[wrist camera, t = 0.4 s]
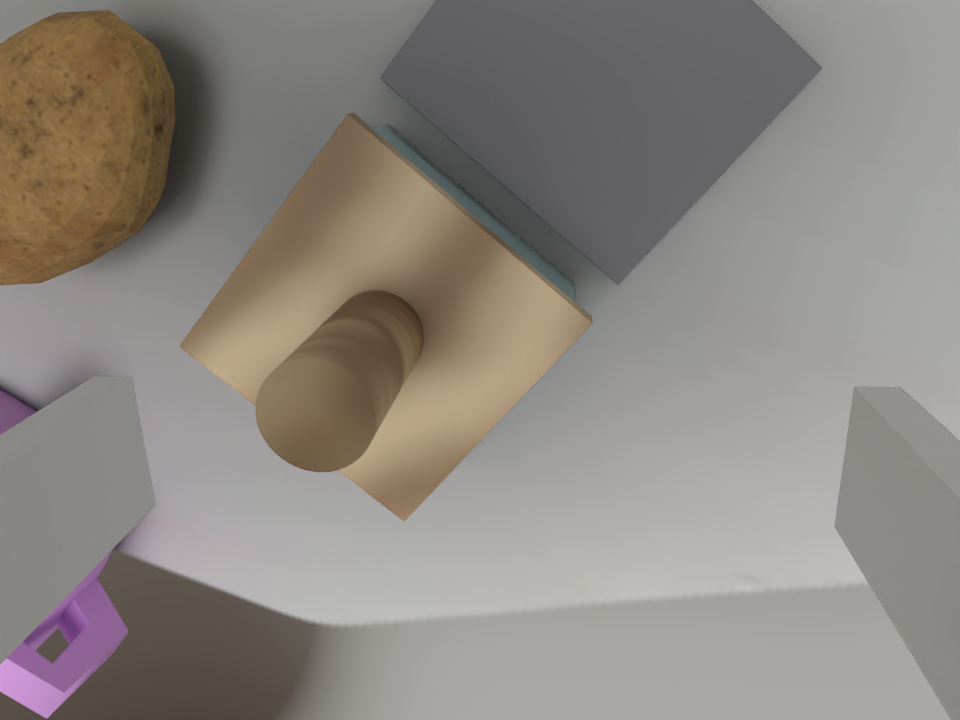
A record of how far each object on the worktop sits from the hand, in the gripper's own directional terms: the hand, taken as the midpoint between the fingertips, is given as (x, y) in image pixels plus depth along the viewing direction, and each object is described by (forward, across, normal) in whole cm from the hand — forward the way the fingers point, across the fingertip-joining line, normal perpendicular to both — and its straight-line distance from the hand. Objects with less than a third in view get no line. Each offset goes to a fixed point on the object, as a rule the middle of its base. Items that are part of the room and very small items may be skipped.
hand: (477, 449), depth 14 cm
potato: (+26, -22, +4) cm, 34 cm away
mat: (+26, +3, +7) cm, 27 cm away
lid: (+20, -6, -4) cm, 21 cm away
